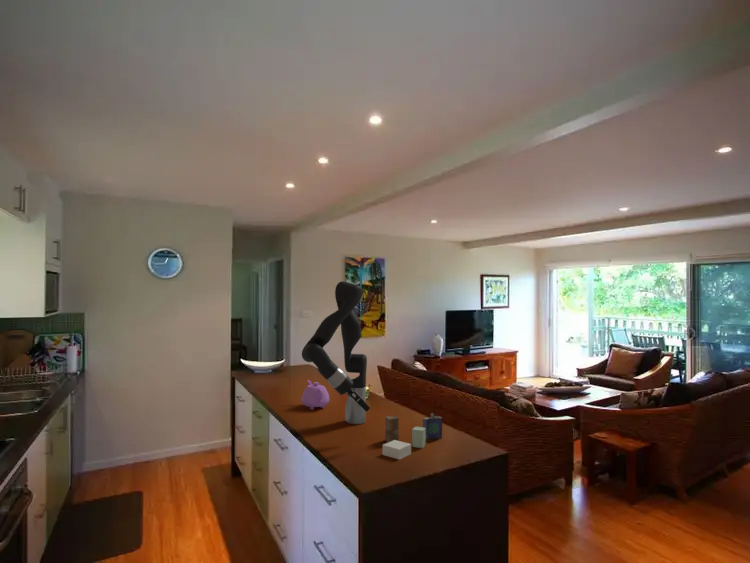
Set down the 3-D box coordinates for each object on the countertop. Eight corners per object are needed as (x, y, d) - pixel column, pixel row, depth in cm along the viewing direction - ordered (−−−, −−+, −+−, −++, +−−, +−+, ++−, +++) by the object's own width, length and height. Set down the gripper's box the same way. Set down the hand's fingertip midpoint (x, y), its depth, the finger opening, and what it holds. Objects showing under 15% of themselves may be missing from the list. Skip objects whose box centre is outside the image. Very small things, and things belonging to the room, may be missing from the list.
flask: (424, 440, 181) (424, 415, 181) (421, 438, 184) (421, 413, 184) (443, 438, 184) (443, 413, 184) (440, 436, 186) (440, 412, 187)
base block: (382, 455, 163) (382, 444, 163) (394, 449, 169) (394, 439, 169) (399, 460, 158) (399, 449, 158) (411, 454, 164) (411, 444, 164)
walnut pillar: (388, 443, 176) (388, 419, 177) (385, 439, 181) (385, 416, 181) (398, 442, 177) (398, 418, 178) (395, 439, 182) (395, 415, 182)
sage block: (412, 446, 172) (412, 429, 173) (414, 443, 177) (415, 426, 177) (422, 448, 171) (423, 430, 171) (425, 444, 175) (425, 427, 176)
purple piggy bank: (295, 404, 243) (295, 380, 244) (320, 401, 250) (321, 378, 251) (308, 412, 224) (308, 386, 224) (335, 409, 231) (335, 384, 232)
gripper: (349, 376, 169) (376, 404, 171) (342, 371, 182) (368, 397, 185) (336, 390, 167) (363, 418, 169) (330, 384, 181) (356, 410, 183)
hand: (365, 407), depth 177 cm, fingers open, 8 cm apart
